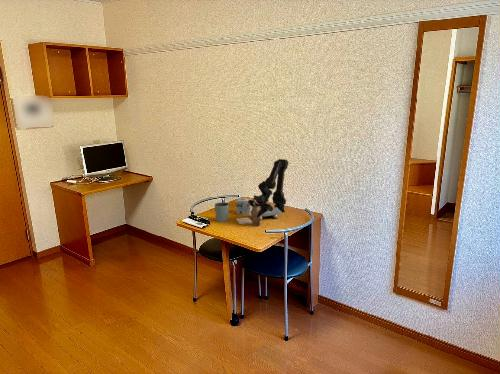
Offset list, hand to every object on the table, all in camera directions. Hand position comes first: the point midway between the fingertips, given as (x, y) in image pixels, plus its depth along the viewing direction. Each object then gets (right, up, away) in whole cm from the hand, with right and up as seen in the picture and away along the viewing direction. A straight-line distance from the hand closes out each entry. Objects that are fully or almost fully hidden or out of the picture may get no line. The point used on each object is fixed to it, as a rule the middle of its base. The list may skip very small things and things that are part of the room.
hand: (254, 216), depth 259 cm
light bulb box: (-7, 0, +28) cm, 29 cm away
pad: (-7, -4, +10) cm, 13 cm away
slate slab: (+8, -2, +17) cm, 19 cm away
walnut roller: (+1, -6, +3) cm, 7 cm away
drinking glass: (-23, -4, +13) cm, 27 cm away
